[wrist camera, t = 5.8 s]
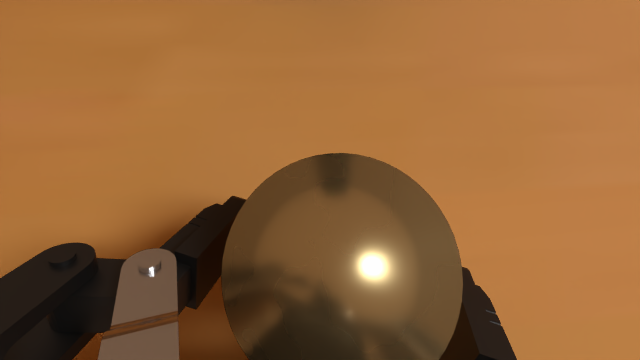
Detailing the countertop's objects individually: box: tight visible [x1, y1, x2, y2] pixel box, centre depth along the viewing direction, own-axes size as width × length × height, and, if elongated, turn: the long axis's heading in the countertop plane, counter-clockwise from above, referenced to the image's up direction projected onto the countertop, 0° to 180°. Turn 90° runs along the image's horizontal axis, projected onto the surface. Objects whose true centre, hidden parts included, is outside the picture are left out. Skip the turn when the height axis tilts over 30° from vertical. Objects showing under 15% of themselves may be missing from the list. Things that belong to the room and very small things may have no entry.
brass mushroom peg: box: [221, 153, 463, 360], centre depth 11 cm, size 6×6×10 cm
